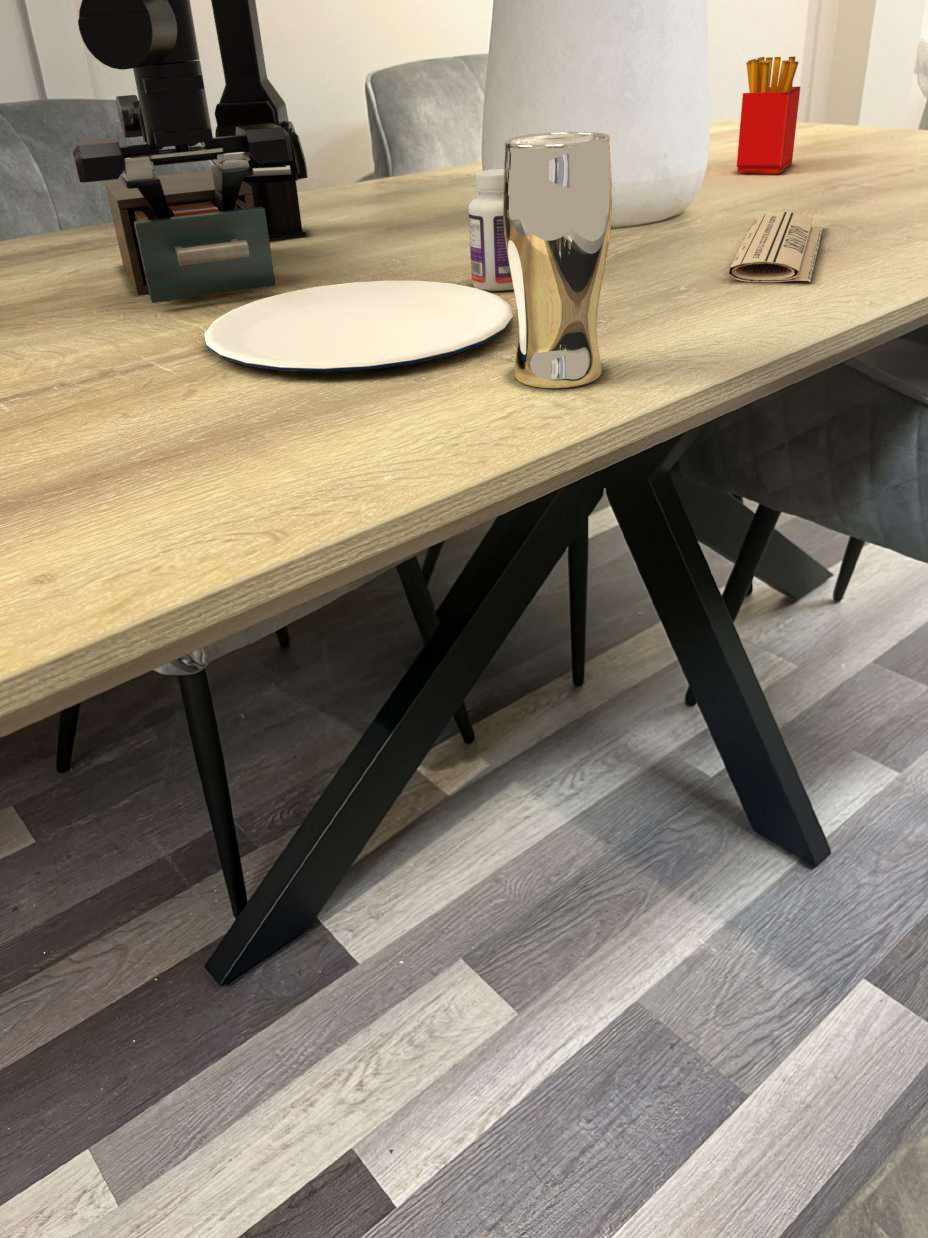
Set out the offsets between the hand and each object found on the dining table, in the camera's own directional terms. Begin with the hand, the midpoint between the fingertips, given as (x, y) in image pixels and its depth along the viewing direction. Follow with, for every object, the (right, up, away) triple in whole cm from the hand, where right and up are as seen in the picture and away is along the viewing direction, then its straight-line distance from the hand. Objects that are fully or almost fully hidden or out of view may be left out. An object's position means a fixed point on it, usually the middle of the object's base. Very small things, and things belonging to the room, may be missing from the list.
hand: (201, 252), depth 93 cm
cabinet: (-4, +2, +11) cm, 12 cm away
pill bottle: (+28, -4, -1) cm, 28 cm away
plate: (+16, -11, -12) cm, 23 cm away
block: (0, -1, +1) cm, 1 cm away
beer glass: (+31, -18, -24) cm, 43 cm away
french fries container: (+68, +30, +49) cm, 89 cm away
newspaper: (+56, +1, +4) cm, 56 cm away
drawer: (0, -2, +1) cm, 3 cm away
